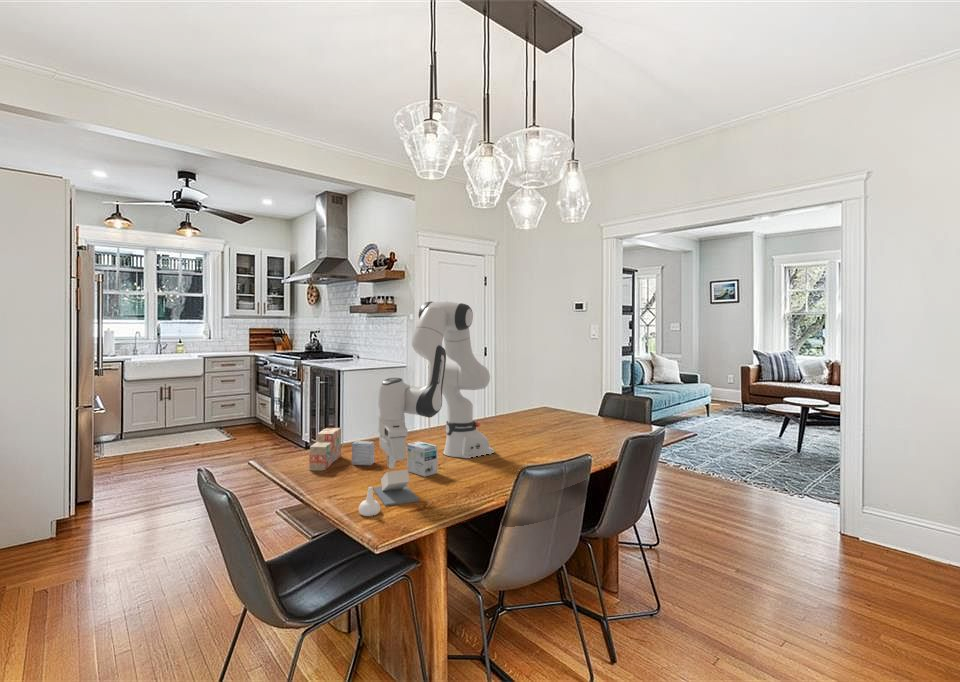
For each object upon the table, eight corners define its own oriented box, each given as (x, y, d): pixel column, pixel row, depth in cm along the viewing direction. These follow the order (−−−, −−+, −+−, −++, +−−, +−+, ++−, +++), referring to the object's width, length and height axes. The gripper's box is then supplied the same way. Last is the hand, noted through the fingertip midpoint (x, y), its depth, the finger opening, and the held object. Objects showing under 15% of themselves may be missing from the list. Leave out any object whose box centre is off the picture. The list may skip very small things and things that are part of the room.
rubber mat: (404, 485, 171) (404, 483, 171) (419, 501, 156) (419, 499, 156) (372, 489, 167) (372, 487, 167) (385, 506, 151) (385, 504, 151)
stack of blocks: (325, 471, 187) (325, 439, 187) (309, 470, 187) (309, 438, 187) (341, 456, 208) (341, 427, 208) (326, 456, 208) (326, 427, 208)
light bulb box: (438, 473, 186) (438, 445, 185) (424, 477, 181) (424, 448, 180) (419, 467, 193) (419, 440, 192) (406, 471, 188) (406, 443, 188)
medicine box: (374, 462, 199) (374, 441, 199) (370, 465, 194) (371, 444, 194) (355, 461, 200) (355, 440, 199) (351, 465, 195) (351, 443, 195)
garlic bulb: (355, 517, 144) (354, 491, 143) (363, 508, 150) (362, 482, 149) (375, 519, 143) (375, 493, 142) (383, 509, 149) (382, 484, 148)
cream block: (401, 476, 168) (407, 469, 161) (402, 488, 166) (409, 481, 159) (380, 479, 165) (386, 471, 158) (382, 491, 163) (388, 484, 156)
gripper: (375, 421, 173) (374, 460, 173) (390, 433, 155) (389, 476, 155) (392, 420, 176) (392, 458, 176) (409, 431, 157) (408, 474, 158)
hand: (391, 467), depth 165 cm, fingers closed
